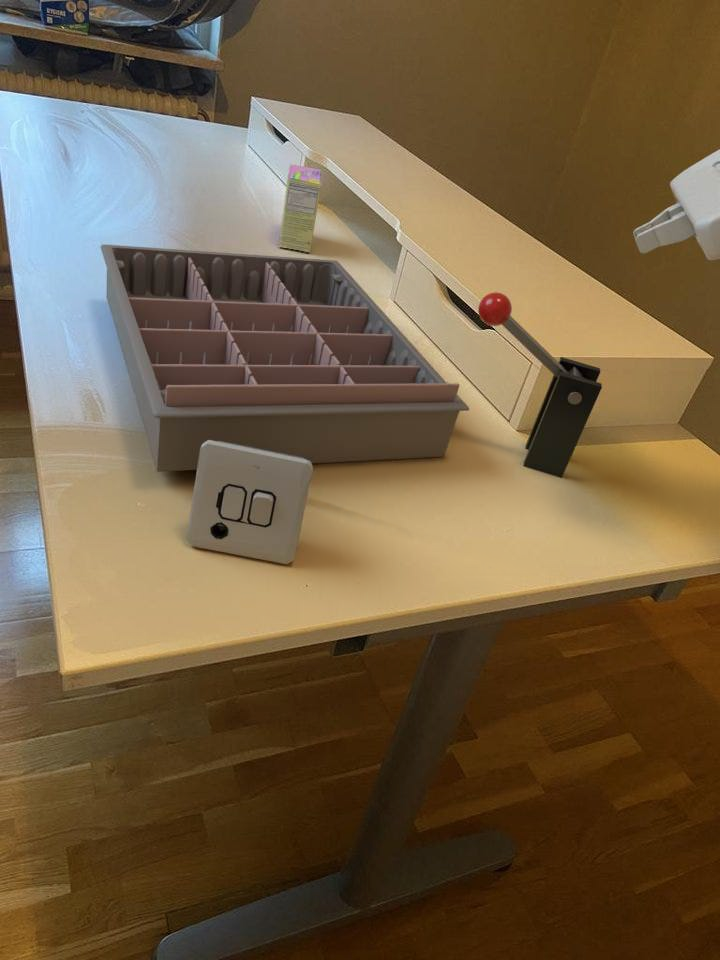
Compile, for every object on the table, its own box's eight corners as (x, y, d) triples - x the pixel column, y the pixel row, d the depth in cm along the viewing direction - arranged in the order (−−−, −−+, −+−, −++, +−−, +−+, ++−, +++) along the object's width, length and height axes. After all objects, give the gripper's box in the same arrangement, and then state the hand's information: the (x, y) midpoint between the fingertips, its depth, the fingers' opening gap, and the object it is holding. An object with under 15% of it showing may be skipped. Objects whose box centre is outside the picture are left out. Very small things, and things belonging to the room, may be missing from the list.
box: (280, 229, 136) (290, 163, 130) (311, 235, 137) (322, 169, 130) (277, 248, 128) (287, 177, 121) (309, 254, 129) (321, 184, 122)
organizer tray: (327, 312, 109) (340, 246, 104) (450, 471, 81) (476, 391, 75) (99, 303, 96) (100, 227, 91) (149, 489, 68) (154, 395, 62)
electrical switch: (183, 547, 62) (195, 451, 58) (197, 515, 67) (209, 424, 62) (293, 568, 63) (312, 475, 59) (299, 535, 68) (318, 446, 63)
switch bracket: (485, 476, 81) (523, 374, 74) (492, 434, 90) (527, 338, 82) (591, 509, 80) (640, 408, 73) (589, 463, 89) (633, 369, 82)
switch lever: (469, 314, 76) (493, 291, 74) (473, 304, 79) (496, 281, 77) (571, 411, 79) (596, 391, 77) (571, 398, 81) (595, 378, 80)
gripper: (842, 226, 56) (660, 307, 63) (779, 177, 73) (640, 245, 80) (817, 148, 54) (631, 240, 60) (758, 116, 71) (617, 191, 77)
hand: (636, 242), depth 70 cm, fingers closed
